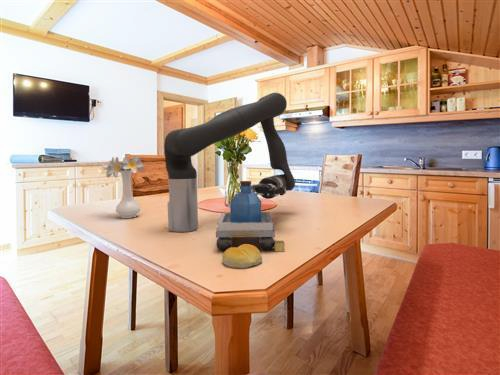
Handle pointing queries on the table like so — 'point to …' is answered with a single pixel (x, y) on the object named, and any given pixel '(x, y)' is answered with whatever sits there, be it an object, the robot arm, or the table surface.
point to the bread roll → (242, 256)
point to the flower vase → (125, 183)
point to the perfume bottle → (245, 205)
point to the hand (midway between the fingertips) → (256, 192)
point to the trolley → (248, 232)
